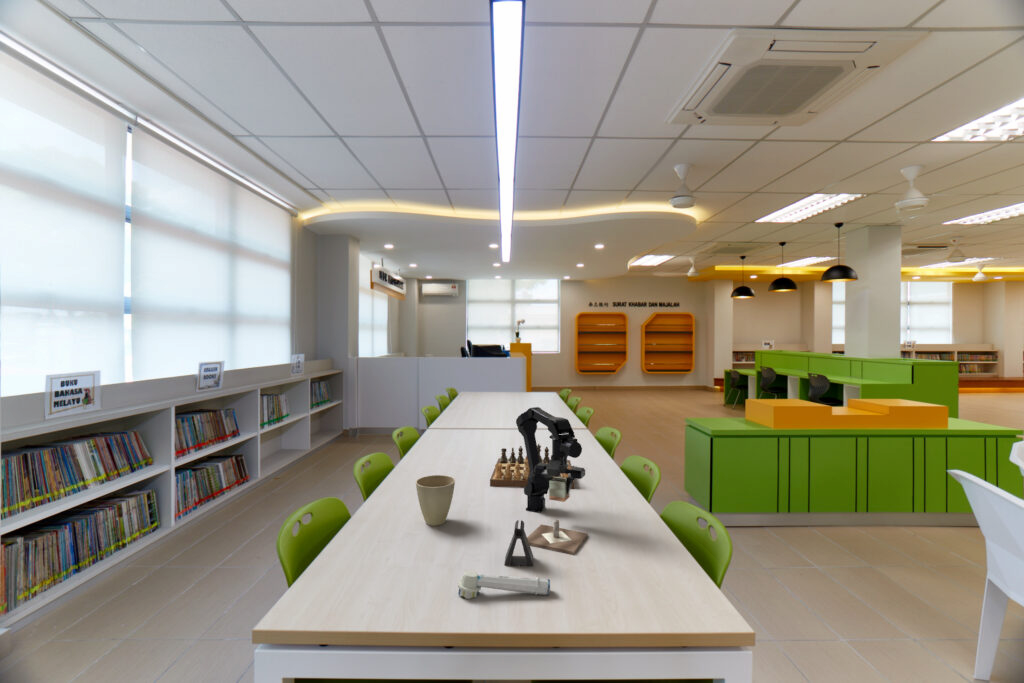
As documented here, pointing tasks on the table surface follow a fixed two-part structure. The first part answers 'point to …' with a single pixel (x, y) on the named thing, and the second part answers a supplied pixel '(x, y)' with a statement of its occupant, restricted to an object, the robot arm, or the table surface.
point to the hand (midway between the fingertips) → (559, 492)
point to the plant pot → (435, 497)
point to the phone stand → (528, 557)
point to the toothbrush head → (501, 584)
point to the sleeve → (558, 489)
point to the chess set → (517, 469)
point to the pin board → (557, 538)
